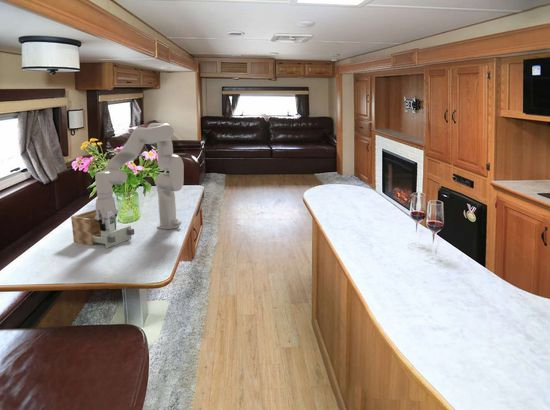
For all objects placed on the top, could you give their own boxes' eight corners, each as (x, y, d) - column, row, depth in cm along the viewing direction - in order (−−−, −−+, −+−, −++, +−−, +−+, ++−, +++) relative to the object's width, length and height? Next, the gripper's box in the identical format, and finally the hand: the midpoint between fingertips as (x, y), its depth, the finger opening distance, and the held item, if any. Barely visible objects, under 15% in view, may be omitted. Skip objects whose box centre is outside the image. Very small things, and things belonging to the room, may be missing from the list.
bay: (117, 236, 277) (114, 211, 274) (92, 245, 262) (89, 219, 258) (99, 233, 283) (97, 209, 280) (73, 242, 267) (71, 216, 264)
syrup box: (111, 239, 262) (108, 212, 258) (100, 238, 263) (98, 211, 259) (116, 235, 267) (114, 209, 264) (106, 235, 268) (103, 208, 265)
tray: (135, 238, 271) (134, 226, 270) (111, 248, 256) (110, 235, 254) (113, 235, 278) (112, 223, 276) (88, 244, 263) (87, 231, 261)
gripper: (111, 191, 269) (114, 223, 273) (86, 198, 254) (90, 232, 258) (122, 192, 265) (125, 225, 270) (97, 199, 250) (101, 234, 255)
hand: (108, 228), depth 264 cm, fingers closed on syrup box, 6 cm apart
